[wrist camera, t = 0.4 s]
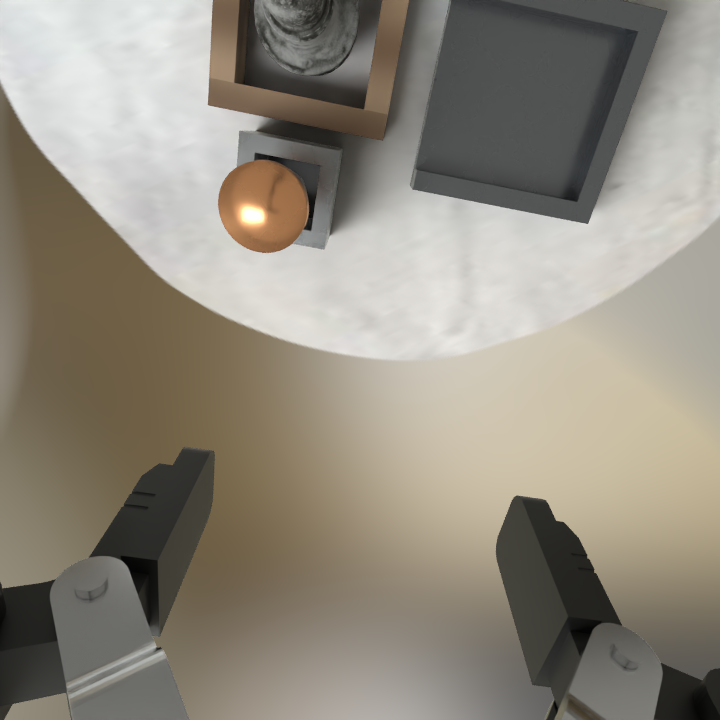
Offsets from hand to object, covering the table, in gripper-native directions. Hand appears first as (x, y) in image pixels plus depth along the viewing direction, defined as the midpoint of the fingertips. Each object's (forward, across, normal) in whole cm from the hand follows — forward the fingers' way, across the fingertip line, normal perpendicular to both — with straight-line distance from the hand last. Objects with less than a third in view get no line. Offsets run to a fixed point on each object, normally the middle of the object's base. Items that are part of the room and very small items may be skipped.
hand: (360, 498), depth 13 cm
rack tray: (+26, -8, -11) cm, 30 cm away
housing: (+26, +6, -4) cm, 27 cm away
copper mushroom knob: (+22, +6, -4) cm, 23 cm away
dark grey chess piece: (+26, +6, -14) cm, 30 cm away
